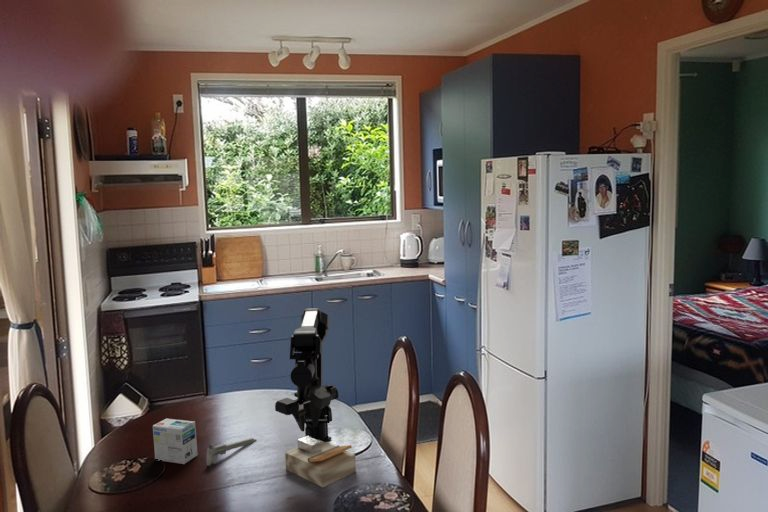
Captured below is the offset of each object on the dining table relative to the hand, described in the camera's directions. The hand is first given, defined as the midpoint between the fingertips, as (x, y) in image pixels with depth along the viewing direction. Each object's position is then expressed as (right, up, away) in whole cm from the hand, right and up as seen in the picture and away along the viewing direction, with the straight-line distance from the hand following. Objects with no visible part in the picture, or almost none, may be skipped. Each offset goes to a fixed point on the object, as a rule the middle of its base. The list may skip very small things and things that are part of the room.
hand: (308, 428), depth 178 cm
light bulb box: (-40, -11, +9) cm, 43 cm away
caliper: (-24, -11, +12) cm, 29 cm away
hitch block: (+4, -11, -2) cm, 12 cm away
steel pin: (0, -10, +1) cm, 11 cm away
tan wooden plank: (+7, -6, -6) cm, 10 cm away
